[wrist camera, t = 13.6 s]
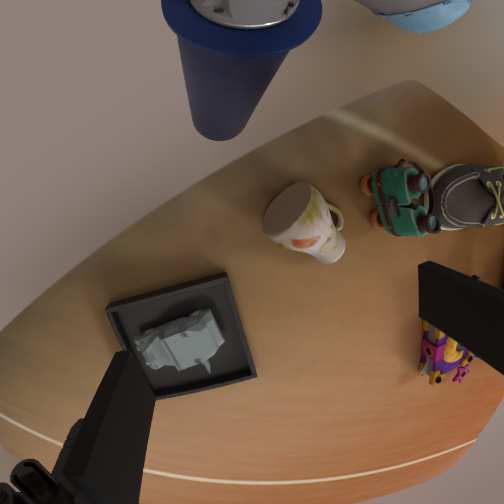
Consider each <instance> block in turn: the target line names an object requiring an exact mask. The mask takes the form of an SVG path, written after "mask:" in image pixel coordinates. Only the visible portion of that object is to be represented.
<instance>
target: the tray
mask: <svg viewBox="0 0 504 504" xmlns="http://www.w3.org/2000/svg"><path fill="white" fill-rule="evenodd" d="M209 308H210V310H211V313H212V315H213V317H214V319H215V321H216V323H217V325H218V327H219V329H220V331H221V333H222V335H223V337H224V340H225V342H224V343H223V344H222V345H221V346H219V348H218V350H217V351H216V353H215V354H214V355H213V356H212V357H210V358H209V359H208V361H209V362H210V370H211V373H210V374H209V372H208V371H207V369H206V367H205V365H203V364H202V363H200V364H197V365H194V366H191V367H189V368H186V369H183V370H180V371H178V370H177V368H176V366H170V365H164V366H163V367H161V368H158V369H156V370H155V369H152V368H151V367H150V366H149V365H146V363H145V360H146V359H145V357H144V356H143V354H142V351H138V350H137V347H136V346H138V345H136V343H135V341H134V338H135V337H137V336H142V334H143V332H144V331H146V330H148V329H150V328H156V327H158V326H161V325H163V324H166V323H168V322H171V321H173V320H176V319H179V318H181V317H188V318H189V315H190V314H191V313H192V312H194V311H196V310H203V311H204V310H207V309H209ZM105 310H106V313H107V315H108V318H109V320H110V323H111V325H112V327H113V330H114V332H115V334H116V336H117V339H118V341H119V343H120V345H121V347H122V349H123V351H125V350H130V349H131V350H132V352H133V354H134V356H135V358H136V360H137V362H138V364H139V366H140V368H141V370H142V372H143V374H144V376H145V378H146V380H147V382H148V384H149V386H150V388H151V390H152V391H153V393H154V395H155V397H156V400H160V399H166V398H171V397H176V396H181V395H186V394H191V393H196V392H200V391H205V390H209V389H214V388H218V387H222V386H226V385H230V384H234V383H237V382H241V381H245V380H249V379H252V378H256V377H258V376H257V373H256V370H255V366H254V363H253V360H252V357H251V354H250V350H249V347H248V344H247V340H246V337H245V334H244V331H243V327H242V324H241V321H240V317H239V314H238V310H237V307H236V304H235V300H234V297H233V293H232V290H231V286H230V283H229V280H228V276H227V273H226V272H223V273H220V274H216V275H213V276H209V277H205V278H202V279H198V280H195V281H191V282H187V283H184V284H180V285H176V286H173V287H169V288H165V289H162V290H158V291H154V292H151V293H147V294H143V295H139V296H136V297H132V298H128V299H125V300H121V301H117V302H113V303H110V304H109V305H108V306H107V307H106V309H105Z"/></svg>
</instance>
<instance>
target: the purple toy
mask: <svg viewBox="0 0 504 504" xmlns="http://www.w3.org/2000/svg"><path fill="white" fill-rule="evenodd" d="M471 277H472V278H475V279H477V280H479V279H480V277H478V276H476V275H473V276H471ZM423 329H424V330H425V337H423V340H422V353H423V359H422V361H421V362H420V369H419V374H418V375H421V376H424V375H425V374H428V375H429V376H430V378H429V383H430V384H431V385H432V386H433V385H435V384H436V383H440V382H441V380H443V379H444V377H445V374H446V373H447V372H449V371H450V370H452V369H454V368H455V367H457V366H458V365H460V366H462V367H458V370H457V374H456V375H455V377H454V378H453V380H452V381H453V382H455V381H457V380H458V381H459V383H461V382H462V380H463V378H464V376H465V375H466V374H467V373H469V372H470V371H469V370H467V369H468V366H469V363H470V362H471V361H472V360H473V358H474V356H475V357H477V356H476V355H475V354H473V353H472V352H470V351H469V350H468V349H466V348H465V347H463V346H462V345H460V344H459V343H457V342H456V341H455V340H453V339H452V338H450V337H449V336H447V335H446V334H444V333H443V332H441V331H440V330H438V329H437V328H435V327H434V326H432V325H431V324H430V323H428V322H427V321H425V320H424V319H423ZM477 358H478V357H477Z"/></svg>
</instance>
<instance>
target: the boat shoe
mask: <svg viewBox="0 0 504 504" xmlns="http://www.w3.org/2000/svg"><path fill="white" fill-rule="evenodd" d="M431 186H432V189H433V193H434V202H435V205H434V210H433V214H435V215H437V216H438V218H439V219H440V222H441V229H442V230H458V229H463V228H469V227H476V228H477V227H484V226H488V225H500V224H503V223H504V167H503V166H485V165H478V164H455V165H452V166H449V167H447V168H445V169H444V170H442V171H440V172H439V173H438V174H437V175H435V176H434V177H433V179H432V180H431ZM428 207H429V197H428V191H427V192H426V193H424V209H425V210H426V213H427V212H428Z"/></svg>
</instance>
